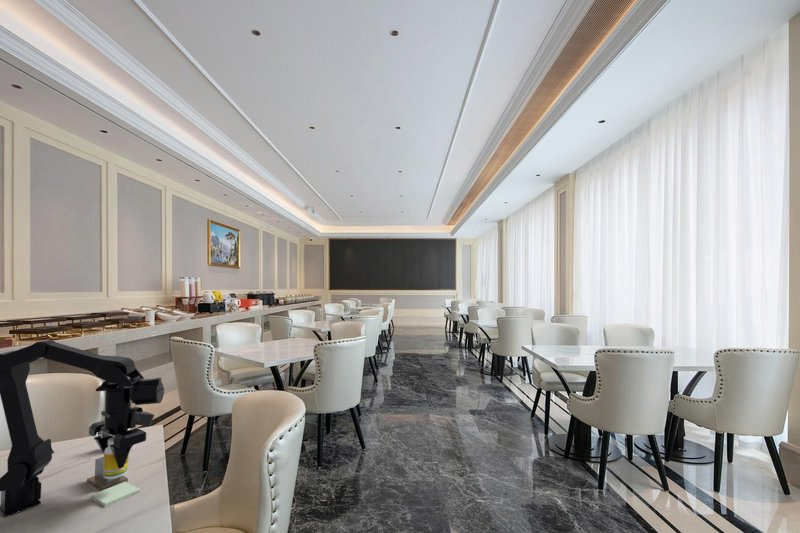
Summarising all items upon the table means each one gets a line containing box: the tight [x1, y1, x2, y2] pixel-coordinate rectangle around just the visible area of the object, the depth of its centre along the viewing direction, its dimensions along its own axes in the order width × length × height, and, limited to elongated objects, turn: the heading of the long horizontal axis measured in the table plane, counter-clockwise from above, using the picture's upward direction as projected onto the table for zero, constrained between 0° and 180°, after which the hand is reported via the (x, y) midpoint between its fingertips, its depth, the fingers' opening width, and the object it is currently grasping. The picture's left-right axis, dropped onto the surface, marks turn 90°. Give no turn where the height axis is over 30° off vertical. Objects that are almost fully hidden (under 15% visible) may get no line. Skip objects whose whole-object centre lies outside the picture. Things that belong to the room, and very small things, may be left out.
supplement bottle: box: [103, 437, 130, 479], centre depth 102 cm, size 5×5×10 cm
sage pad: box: [90, 481, 141, 508], centre depth 102 cm, size 8×8×1 cm
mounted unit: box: [86, 456, 129, 491], centre depth 109 cm, size 6×10×6 cm, turn 59°
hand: (116, 465), depth 102 cm, fingers closed on supplement bottle, 5 cm apart
